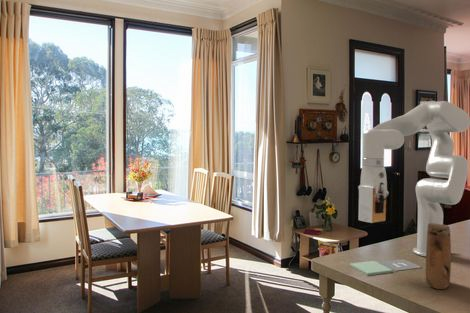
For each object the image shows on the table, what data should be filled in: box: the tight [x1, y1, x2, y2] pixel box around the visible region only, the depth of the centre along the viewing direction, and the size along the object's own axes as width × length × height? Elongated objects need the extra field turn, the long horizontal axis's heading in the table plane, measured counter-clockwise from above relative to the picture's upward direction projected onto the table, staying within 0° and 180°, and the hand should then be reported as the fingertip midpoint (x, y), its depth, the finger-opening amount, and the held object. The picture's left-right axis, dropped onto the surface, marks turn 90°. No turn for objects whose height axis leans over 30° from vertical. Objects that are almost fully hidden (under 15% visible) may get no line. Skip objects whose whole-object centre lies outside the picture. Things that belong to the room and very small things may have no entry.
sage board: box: [349, 260, 394, 276], centre depth 146 cm, size 11×11×1 cm
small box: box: [358, 185, 387, 224], centre depth 145 cm, size 8×6×13 cm
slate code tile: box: [378, 258, 423, 272], centre depth 150 cm, size 12×10×1 cm
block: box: [424, 223, 452, 290], centre depth 130 cm, size 11×8×20 cm
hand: (372, 210), depth 145 cm, fingers closed on small box, 7 cm apart
